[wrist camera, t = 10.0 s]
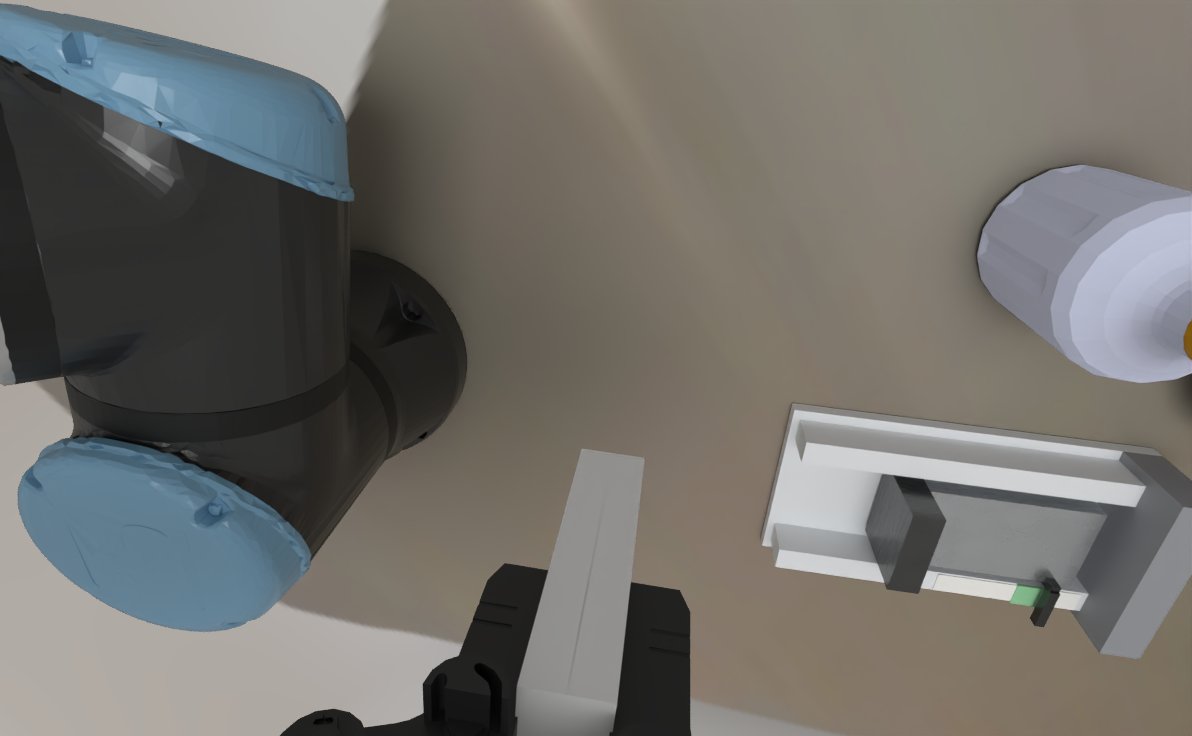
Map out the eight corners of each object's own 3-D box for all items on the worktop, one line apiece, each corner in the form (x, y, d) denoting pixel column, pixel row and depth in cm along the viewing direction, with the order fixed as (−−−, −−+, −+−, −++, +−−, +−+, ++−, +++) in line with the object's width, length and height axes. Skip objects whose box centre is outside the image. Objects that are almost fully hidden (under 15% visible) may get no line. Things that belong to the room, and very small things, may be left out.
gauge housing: (760, 537, 52) (770, 603, 46) (792, 402, 47) (808, 457, 40) (1082, 582, 50) (1139, 659, 44) (1153, 448, 45) (1229, 513, 38)
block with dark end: (855, 561, 50) (875, 622, 45) (887, 462, 46) (913, 516, 41) (1034, 587, 49) (1076, 652, 44) (1082, 487, 45) (1135, 546, 40)
